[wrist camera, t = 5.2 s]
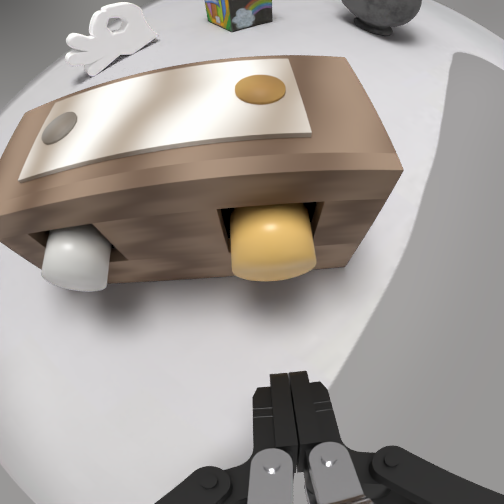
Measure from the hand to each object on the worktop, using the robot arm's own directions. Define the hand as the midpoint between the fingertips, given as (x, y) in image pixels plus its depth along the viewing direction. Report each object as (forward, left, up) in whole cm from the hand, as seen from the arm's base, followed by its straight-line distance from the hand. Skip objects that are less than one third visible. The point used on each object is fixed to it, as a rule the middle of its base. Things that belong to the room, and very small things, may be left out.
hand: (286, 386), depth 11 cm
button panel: (-2, +14, -9) cm, 17 cm away
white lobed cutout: (-7, +52, -9) cm, 54 cm away
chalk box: (+16, +54, -9) cm, 57 cm away
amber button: (+2, +7, -4) cm, 9 cm away
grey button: (-9, +11, -4) cm, 15 cm away
